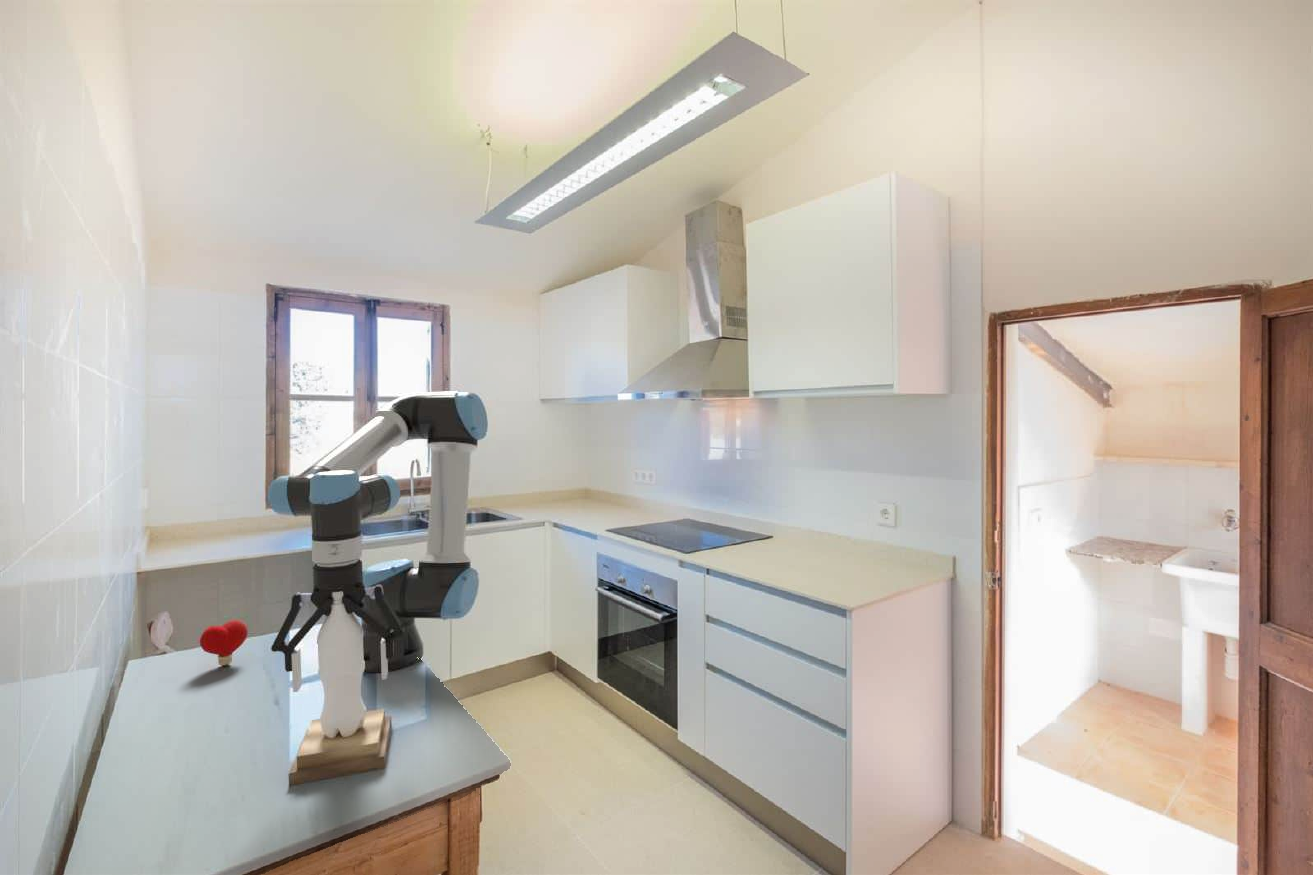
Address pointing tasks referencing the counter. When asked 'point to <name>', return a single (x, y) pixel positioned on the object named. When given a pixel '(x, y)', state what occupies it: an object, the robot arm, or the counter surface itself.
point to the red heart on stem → (224, 640)
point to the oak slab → (341, 742)
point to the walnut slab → (343, 763)
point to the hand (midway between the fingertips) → (342, 682)
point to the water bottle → (341, 671)
